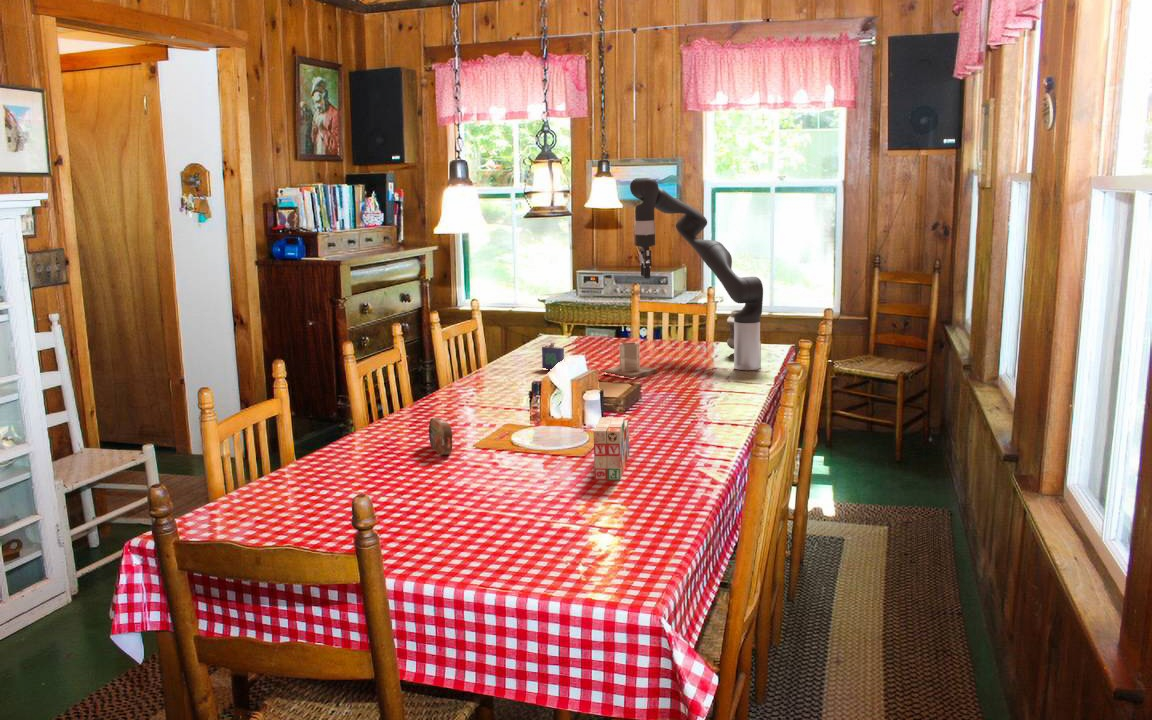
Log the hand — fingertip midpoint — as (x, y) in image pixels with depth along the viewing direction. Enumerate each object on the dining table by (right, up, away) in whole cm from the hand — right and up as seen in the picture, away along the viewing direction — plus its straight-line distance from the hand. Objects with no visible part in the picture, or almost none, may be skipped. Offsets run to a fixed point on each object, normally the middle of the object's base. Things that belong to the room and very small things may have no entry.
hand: (645, 277), depth 347 cm
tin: (-61, -55, -99) cm, 129 cm away
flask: (-34, -35, 0) cm, 49 cm away
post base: (-7, -36, -10) cm, 38 cm away
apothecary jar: (+39, -30, +17) cm, 52 cm away
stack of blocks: (-17, -57, -117) cm, 131 cm away
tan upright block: (-6, -34, -10) cm, 36 cm away
